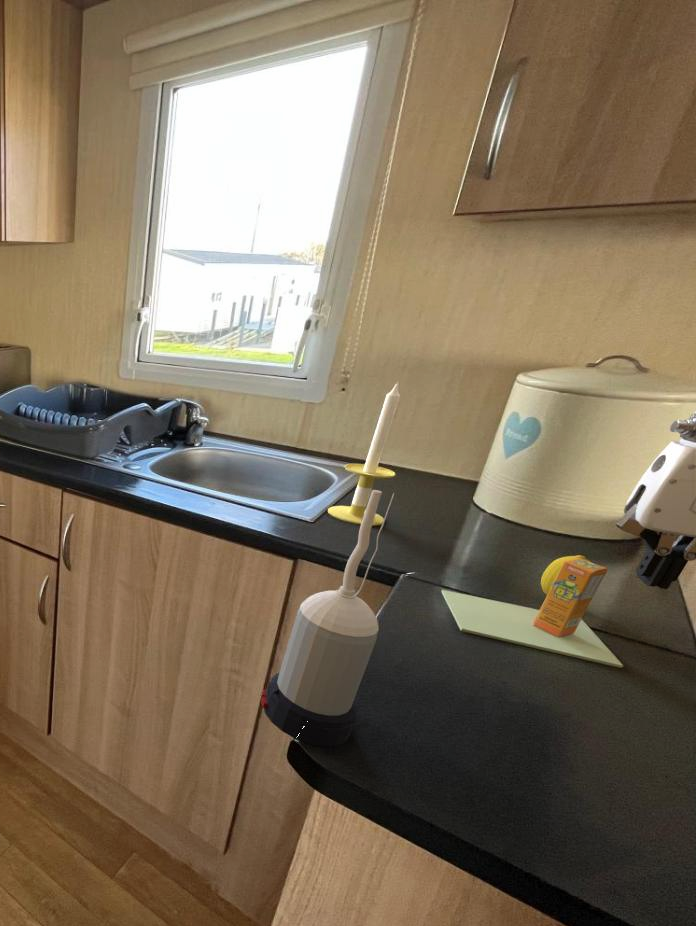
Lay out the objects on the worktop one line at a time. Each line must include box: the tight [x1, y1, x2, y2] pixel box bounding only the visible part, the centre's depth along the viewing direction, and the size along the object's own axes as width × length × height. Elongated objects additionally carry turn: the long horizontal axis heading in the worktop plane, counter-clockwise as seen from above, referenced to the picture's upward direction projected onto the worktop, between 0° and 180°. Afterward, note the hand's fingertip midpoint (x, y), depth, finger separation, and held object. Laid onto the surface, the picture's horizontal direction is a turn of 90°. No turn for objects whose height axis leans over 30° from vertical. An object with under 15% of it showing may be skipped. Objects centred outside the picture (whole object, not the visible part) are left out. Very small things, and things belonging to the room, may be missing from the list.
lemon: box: [540, 554, 591, 596], centre depth 79 cm, size 6×6×8 cm
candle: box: [327, 380, 401, 527], centre depth 106 cm, size 10×10×27 cm
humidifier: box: [260, 489, 395, 748], centre depth 52 cm, size 8×8×25 cm
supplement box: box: [533, 558, 608, 637], centre depth 72 cm, size 3×3×10 cm
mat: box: [440, 589, 624, 669], centre depth 75 cm, size 16×12×1 cm
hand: (651, 582), depth 68 cm, fingers closed
